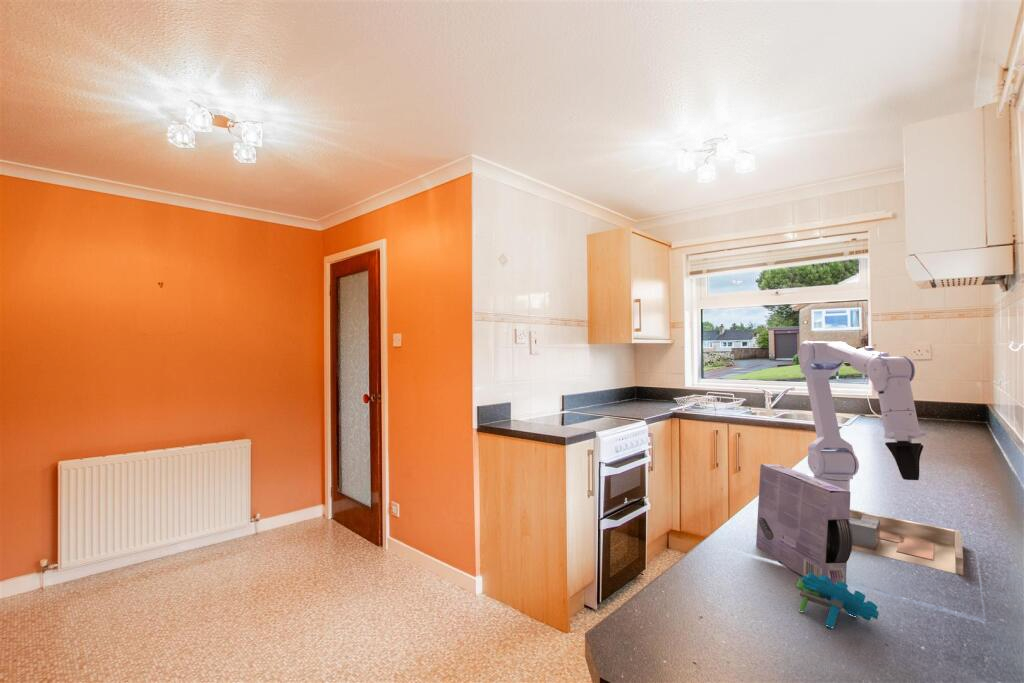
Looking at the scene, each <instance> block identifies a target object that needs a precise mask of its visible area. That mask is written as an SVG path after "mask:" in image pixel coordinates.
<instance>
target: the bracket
mask: <svg viewBox="0 0 1024 683" xmlns="http://www.w3.org/2000/svg"><path fill="white" fill-rule="evenodd" d="M849 521H850V525H851V530H852V537H853V540H852V545H853V546H857V547H862V548H866V549H870V550H874V551H876V549H877V546H878V543H879V540H880V518H875V517H869V516H864V515H863V516H862V518H861V520H858V519H853V518H849Z"/></svg>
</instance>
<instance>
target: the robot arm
mask: <svg viewBox="0 0 1024 683" xmlns="http://www.w3.org/2000/svg"><path fill="white" fill-rule="evenodd" d="M798 348H799V349H798V352H797V357H798V363H799V368H800V372H801V374H802V375H804V377H805V380H806V386H807V391H808V397H809V400H810V406H811V411H812V418H813V422H814V427H815V433H816V439H815V440H814V441H812V442H811V443H810V444H809V445H808V446H807V452H808V455H807V465H808V468H809V470H810V471H811V472H812V473H809V472H808V473H807V474H806V475H808V476H811V477H813V478H816V479H818V480H821V481H824V482H826V483H829V484H831V485H834V486H837V487H840V488H842V489H845V490H848V491H850V489H851V487H850V485H851V484H850V483H851V480H853V479H854V476H856V475H857V473H858V471H859V469H860V463H859V459H858V457H857V455H856V453H855V450H854V448H853V445H852V444H850V443H849V442H848V441H846V440H845V439H844V438H842V437H841V432H840V429H839V423H838V419H837V414H836V408H835V402H834V399H833V394H832V389H831V386H830V385H831V384H830V380H829V379H830V378H831V377H832V376H834V375H836V374H837V373H838V372H839V370H840V369H841V368H842V366H843V365H844V364H845V363H846V362H847V363H849V364H850V367H851V368H852V369H853V370H855V371H856V372H859V373H862V374H864V375H866V376H867V378H868V379H869V380H870V382H871V383H872V386H873V390H875V392H877V396H878V400H879V406H880V408H879V409H880V411H881V412H880V413H881V416H882V417H881V419H882V424H883V429H884V436H883V437H884V439H887V440H894V441H891V442H889V441H888V442H887V441H886V442H884V444H885V446H886V448H887V449H888V450H889V451H890V453H891V454H892V456H893V459H894V461H895V463H896V465H897V467H898V468H897V469H898V471H899V473H900V476H901V478H902V479H903V480H906V481H919V480H920V461H921V455H922V452H923V449H924V445H923V444H922V443H921V442H912V440H916V439H920V438H928V437H929V434H928V432H921V429H920V426H919V425H920V424H919V421H918V417H917V416H918V415H917V410H916V405H915V399H914V395H913V390H912V389H913V388H912V385H911V382H912V381H913V380H914V378H915V375H916V367H915V364H914V362H913V361H912V359H910V358H908V357H907V356H906V355H902V356H901V355H900V356H891V355H889V352H886V351H877V350H875V348H876V347H873V346H868V345H867V346H866V345H865V346H863V347H861V348H855V347H852V346H851V345H848V344H847V342H845V341H844V342H843V341H840V340H839V341H810V340H805V341H803V342H802V343H801V344H800V345H799V347H798ZM850 492H851V491H850ZM850 510H854V509H853V508H850Z"/></svg>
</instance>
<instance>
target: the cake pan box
mask: <svg viewBox="0 0 1024 683" xmlns="http://www.w3.org/2000/svg"><path fill="white" fill-rule="evenodd" d="M759 470H760V471H759V481H758V482H759V486H758V501H757V502H758V505H757V506H758V508H757V523H756V537H755V538H756V540H755V543H756V544H755V546H756V547H759V549H761V550H762V551H765V552H766V553H767V554H769V555H771V556H772V557H774V558H775V559H777V560H778V563H780V564H781V565H783V566H784V567H786V568H788V569H789V570H791V571H793V572H794V573H797V574H798V575H800V576H802V577H803V575H804V576H808V574H809V573H812V574H814V575H815V576H817V577H818V578H819V577H820V575H825V576H827V577H829V578H830V580H831V581H832V582H833V583H834V584H837V581H840V582H843V583H845V584H847V567H848V566H847V562H848V561H849V559H850V557H851V554H852V552H853V551H852V550H853V549H852V540H853V537H852V530H851V525H850V521H849V516H850V509H851V491H848V490H845V489H842V488H840V487H837V486H834V485H831V484H829V483H826V482H824V481H821V480H818V479H816V478H813V477H811V476H808V475H807V474H805V473H802V472H800V471H797V470H794V469H791V468H788V467H786V466H784V465H781V464H779V463H778V464H776V463H775V464H774V463H761V464H760V468H759Z"/></svg>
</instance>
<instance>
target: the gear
mask: <svg viewBox="0 0 1024 683" xmlns="http://www.w3.org/2000/svg"><path fill="white" fill-rule="evenodd" d="M848 587H849V586H848V584H847V583H846V584H845V583H843V582H840V581H837V584H834V583H833V582H832V581H831V580H830V578H829V577H827V576H825V575H820V577H819V578H818V577H817V576H815V575H814V574H812V573H809V574H808V576H804V575H803V576H802V578H801V579H799V578H798V581H797V584H796V586H795V588H796V589H797V590H799V591H801V592H800V597H801V598H802V599H801V602H800V605H799V607H798V611H799V610H800V611H804V612H805V609H806V607H807V604H808V602H812V603H814V604H817V605H821V606H823V607H826V608H829V613H828V614H827V618H826V622H825V624H824V625H825V626H826V625H828V626H830V627H833V628H834V627H835V623H836V620H837V618H838V614H839V612H841V611H842V610H843V611H845V612H846V613H847V614H851V615H853V616H856V617H857V618H858V617H859V616H860V617H861V618H863V619H864V620H865V621H871V620H872V618H873V619H875V620H878V618H879V615H880V613H879V610H878V606H877V605H876V604H875V603H874V602H873V601H871V600H867V601H865V600H866V594H864V593H863V592H861V591H858V590H854V593H852V592H850V591H849V590H848ZM800 611H799V612H800ZM856 617H855V618H856Z"/></svg>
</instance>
